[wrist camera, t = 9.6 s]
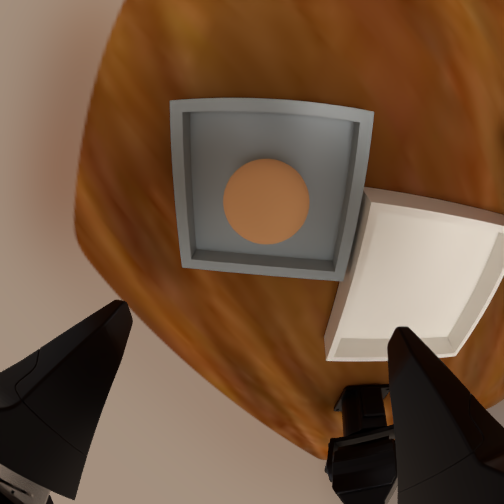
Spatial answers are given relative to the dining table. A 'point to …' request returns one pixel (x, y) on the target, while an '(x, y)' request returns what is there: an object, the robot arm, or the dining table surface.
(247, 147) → the tray
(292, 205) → the ball
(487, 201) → the dining table surface
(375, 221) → the dish
